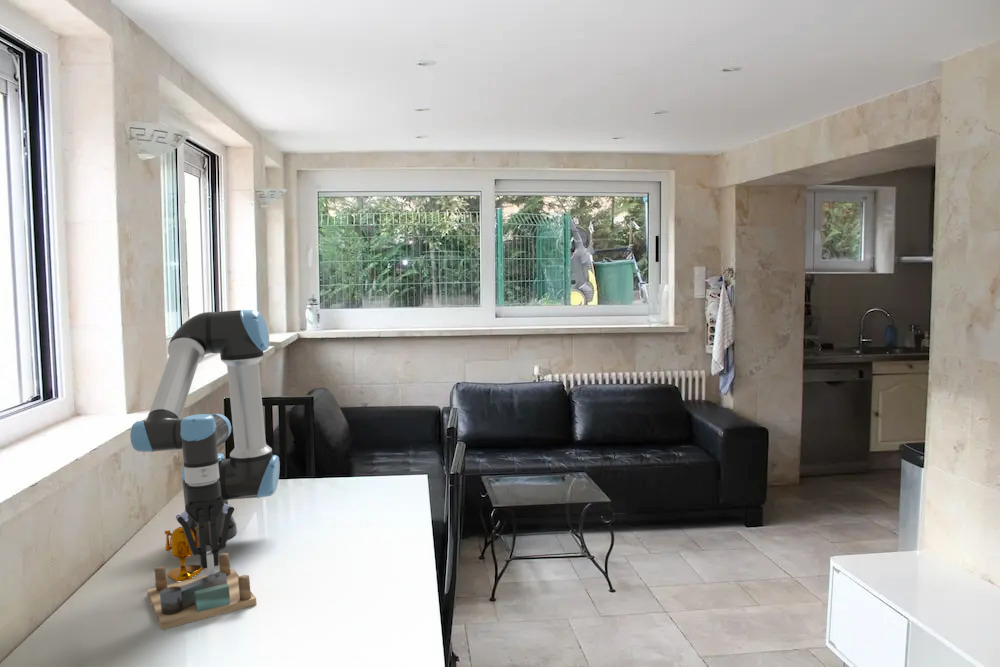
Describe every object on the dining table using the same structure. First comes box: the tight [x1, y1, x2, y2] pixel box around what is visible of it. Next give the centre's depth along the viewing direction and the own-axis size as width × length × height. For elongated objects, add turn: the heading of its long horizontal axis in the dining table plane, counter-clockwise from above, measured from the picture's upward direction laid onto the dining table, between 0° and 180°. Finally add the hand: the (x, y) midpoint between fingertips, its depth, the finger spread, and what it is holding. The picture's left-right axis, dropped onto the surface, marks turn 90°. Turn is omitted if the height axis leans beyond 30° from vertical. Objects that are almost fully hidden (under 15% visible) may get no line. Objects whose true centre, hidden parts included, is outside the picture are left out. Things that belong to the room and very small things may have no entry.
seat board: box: [146, 552, 257, 630], centre depth 183 cm, size 22×20×6 cm
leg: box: [160, 571, 227, 614], centre depth 179 cm, size 15×4×4 cm, turn 143°
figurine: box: [164, 526, 204, 582], centre depth 200 cm, size 8×11×12 cm
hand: (211, 580), depth 185 cm, fingers closed
